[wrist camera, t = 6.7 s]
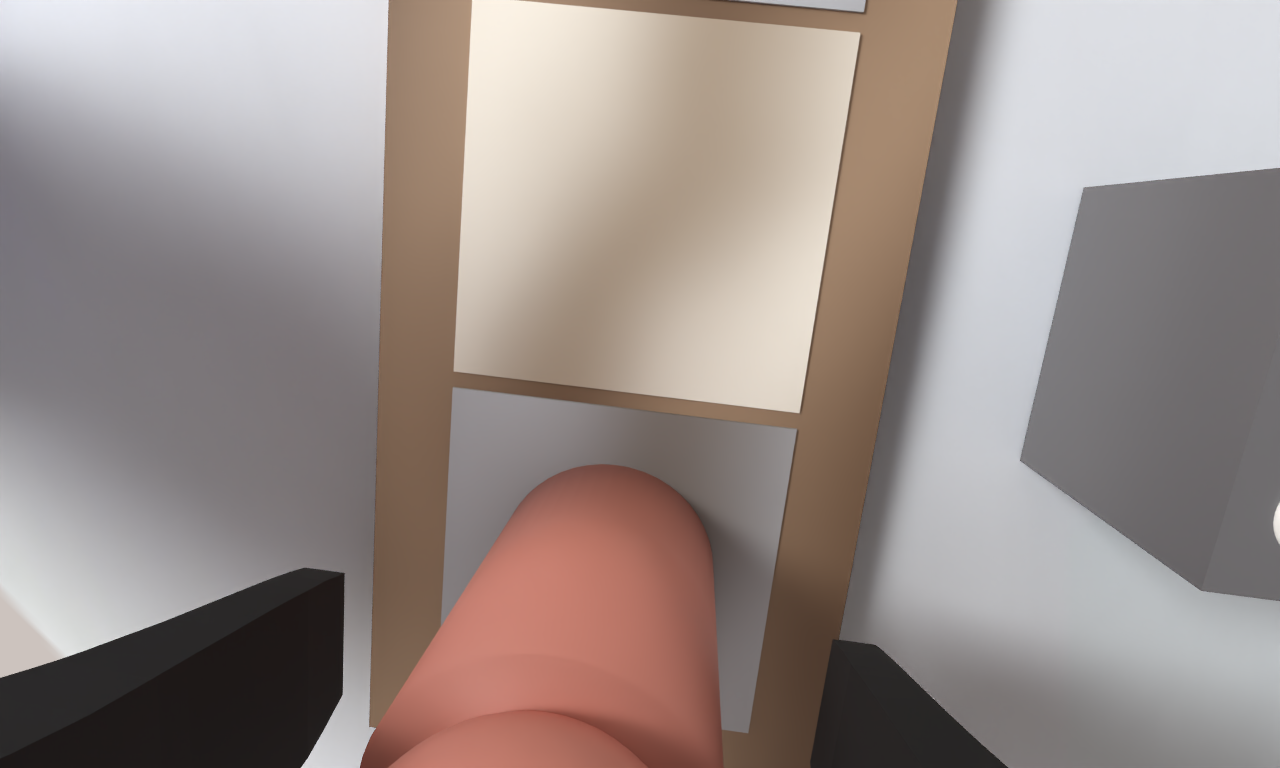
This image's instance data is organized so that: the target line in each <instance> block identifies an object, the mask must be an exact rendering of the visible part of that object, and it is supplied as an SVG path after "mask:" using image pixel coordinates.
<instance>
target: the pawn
mask: <svg viewBox="0 0 1280 768" xmlns="http://www.w3.org/2000/svg"><path fill="white" fill-rule="evenodd" d="M360 768H724V765H723V746H722V727H721V707H720V688H719V668H718V649H717V630H716V610H715V591H714V572H713V557H712V550H711V546H710V542H709V538H708V536H707V533H706V530H705V528H704V526H703V524H702V522H701V520H700V519H699V517H698V515H697V514H696V512H695V511H694V510H693V508H692V507H691V505H690V504H689V503H688V502H687V501H686V500H685V499H684V498H683V497H682V496H681V495H680V494H679V493H678V492H677V491H675V490H674V489H673V488H672V487H670V486H669V485H668V484H666V483H664V482H663V481H661V480H660V479H658V478H656V477H654V476H652V475H650V474H647V473H645V472H643V471H640V470H636V469H633V468H630V467H624V466H619V465H608V464H597V465H586V466H581V467H576V468H572V469H569V470H566V471H563V472H560V473H558V474H556V475H554V476H552V477H550V478H548V479H547V480H545V481H544V482H542V483H541V484H539V485H538V486H536V487H535V488H534V489H533V490H532V491H531V492H530V493H529V494H528V495H527V496H526V497H525V498H524V499H523V500H522V502H521V503H520V504H519V505H518V507H517V508H516V510H515V512H514V513H513V515H512V516H511V518H510V519H509V521H508V522H507V524H506V526H505V527H504V529H503V530H502V532H501V533H500V535H499V537H498V538H497V540H496V541H495V543H494V544H493V546H492V547H491V549H490V551H489V552H488V554H487V555H486V557H485V558H484V560H483V562H482V563H481V565H480V566H479V568H478V569H477V571H476V573H475V574H474V576H473V577H472V579H471V580H470V582H469V583H468V585H467V587H466V588H465V590H464V591H463V593H462V594H461V596H460V598H459V599H458V601H457V602H456V604H455V605H454V607H453V608H452V610H451V612H450V613H449V615H448V616H447V618H446V619H445V621H444V623H443V624H442V626H441V627H440V629H439V630H438V632H437V634H436V635H435V637H434V638H433V640H432V641H431V643H430V644H429V646H428V648H427V649H426V651H425V652H424V654H423V655H422V657H421V659H420V660H419V662H418V663H417V665H416V666H415V668H414V669H413V671H412V673H411V674H410V676H409V677H408V679H407V680H406V682H405V684H404V685H403V687H402V688H401V690H400V691H399V693H398V694H397V696H396V698H395V699H394V701H393V702H392V704H391V705H390V707H389V709H388V710H387V712H386V713H385V715H384V716H383V718H382V720H381V721H380V723H379V724H378V726H377V728H376V729H375V731H374V732H373V734H372V736H371V738H370V740H369V742H368V745H367V747H366V749H365V752H364V754H363V757H362V761H361V765H360Z"/></svg>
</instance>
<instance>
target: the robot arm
mask: <svg viewBox="0 0 1280 768" xmlns="http://www.w3.org/2000/svg"><path fill="white" fill-rule="evenodd" d="M344 575H345V573H340V572H332V571H325V570H318V569H310V568H302V569H299V570H295V571H292V572H289V573H286V574H283V575H280V576H277V577H275V578H272V579H269V580H267V581H264V582H261V583H259V584H256V585H254V586H251V587H249V588H246V589H244V590H241V591H239V592H236V593H234V594H231V595H229V596H226V597H224V598H222V599H219V600H217V601H214V602H212V603H209V604H207V605H204V606H202V607H199V608H197V609H194V610H192V611H189V612H187V613H184V614H182V615H179V616H177V617H174V618H172V619H169V620H167V621H164V622H162V623H159V624H156V625H154V626H151V627H148V628H145V629H143V630H140V631H137V632H135V633H132V634H129V635H126V636H124V637H121V638H118V639H116V640H113V641H110V642H107V643H105V644H102V645H99V646H97V647H94V648H91V649H89V650H86V651H83V652H80V653H77V654H74V655H72V656H69V657H66V658H63V659H60V660H57V661H54V662H51V663H47V664H44V665H41V666H38V667H35V668H32V669H29V670H25V671H22V672H19V673H15V674H12V675H9V676H5V677H2V678H0V768H301V767H302V765H303V764H304V762H305V761H306V760H307V758H308V756H309V755H310V753H311V751H312V749H313V748H314V746H315V744H316V742H317V741H318V739H319V737H320V735H321V734H322V732H323V730H324V728H325V727H326V725H327V723H328V721H329V719H330V717H331V715H332V713H333V711H334V710H335V708H336V706H337V704H338V702H339V700H340V698H341V696H342V693H343V634H344ZM810 766H811V768H1008V767H1007V766H1006V765H1004V764H1003V763H1002V762H1001V761H1000V760H999V759H998V758H996V757H995V756H994V755H993V754H992V753H991V752H990V751H989V750H987V749H986V748H985V747H984V746H983V745H982V744H981V743H980V742H978V741H977V740H976V739H975V738H974V737H973V736H972V735H971V734H970V733H969V732H968V731H966V730H965V729H964V728H963V727H962V726H961V725H960V724H959V723H958V722H957V721H956V720H955V719H954V718H953V717H952V716H950V715H949V714H948V713H947V712H946V711H945V710H944V709H943V708H942V707H941V706H940V705H939V704H938V703H937V702H936V701H935V700H934V699H933V698H932V697H931V696H930V695H929V694H928V693H927V692H925V691H924V690H923V689H922V688H921V687H920V686H919V685H918V684H917V683H916V682H915V681H914V680H913V679H912V678H911V677H910V676H909V675H908V674H907V673H906V672H905V671H904V670H903V669H902V668H901V667H900V666H899V665H898V664H896V663H895V662H894V661H893V660H892V659H891V658H890V657H889V656H888V655H887V654H886V653H885V652H883V651H882V650H881V649H880V648H879V647H877V646H876V645H872V644H865V643H857V642H850V641H842V640H835V639H833V640H832V645H831V651H830V656H829V662H828V667H827V672H826V678H825V683H824V689H823V694H822V700H821V705H820V710H819V716H818V721H817V727H816V732H815V738H814V743H813V748H812V754H811V759H810Z"/></svg>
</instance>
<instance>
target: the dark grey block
mask: <svg viewBox="0 0 1280 768" xmlns="http://www.w3.org/2000/svg"><path fill="white" fill-rule="evenodd" d="M1020 461H1021V462H1023V463H1024V464H1026V465H1027V466H1028V467H1030V468H1031V469H1033V470H1034V471H1035V472H1037V473H1038V474H1040V475H1041V476H1042V477H1044V478H1045V479H1047V480H1048V481H1049V482H1051V483H1052V484H1053V485H1055V486H1056V487H1058V488H1059V489H1060V490H1062V491H1063V492H1065V493H1066V494H1067V495H1069V496H1070V497H1072V498H1073V499H1074V500H1076V501H1077V502H1078V503H1080V504H1081V505H1083V506H1084V507H1085V508H1087V509H1088V510H1090V511H1091V512H1092V513H1094V514H1095V515H1097V516H1098V517H1099V518H1101V519H1102V520H1103V521H1105V522H1106V523H1108V524H1109V525H1110V526H1112V527H1113V528H1115V529H1116V530H1117V531H1119V532H1120V533H1122V534H1123V535H1124V536H1126V537H1127V538H1129V539H1130V540H1131V541H1133V542H1134V543H1135V544H1137V545H1138V546H1140V547H1141V548H1142V549H1144V550H1145V551H1147V552H1148V553H1149V554H1151V555H1152V556H1154V557H1155V558H1156V559H1158V560H1159V561H1160V562H1162V563H1163V564H1165V565H1166V566H1167V567H1169V568H1170V569H1172V570H1173V571H1174V572H1176V573H1177V574H1179V575H1180V576H1181V577H1183V578H1184V579H1185V580H1187V581H1188V582H1190V583H1191V584H1192V585H1194V586H1195V587H1197V588H1198V589H1199V590H1201V591H1207V592H1215V593H1222V594H1230V595H1238V596H1245V597H1253V598H1261V599H1269V600H1276V601H1280V168H1275V169H1265V170H1255V171H1245V172H1235V173H1225V174H1215V175H1205V176H1195V177H1185V178H1175V179H1165V180H1155V181H1145V182H1135V183H1125V184H1115V185H1105V186H1095V187H1085V188H1084V189H1083V193H1082V198H1081V202H1080V206H1079V210H1078V215H1077V219H1076V223H1075V228H1074V232H1073V236H1072V240H1071V245H1070V249H1069V253H1068V257H1067V262H1066V266H1065V270H1064V275H1063V279H1062V283H1061V287H1060V292H1059V296H1058V300H1057V305H1056V309H1055V313H1054V317H1053V322H1052V326H1051V330H1050V335H1049V339H1048V343H1047V347H1046V352H1045V356H1044V360H1043V364H1042V369H1041V373H1040V377H1039V382H1038V386H1037V390H1036V394H1035V399H1034V403H1033V407H1032V412H1031V416H1030V420H1029V424H1028V429H1027V433H1026V437H1025V441H1024V446H1023V450H1022V454H1021V459H1020Z"/></svg>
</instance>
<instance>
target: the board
mask: <svg viewBox="0 0 1280 768" xmlns="http://www.w3.org/2000/svg"><path fill="white" fill-rule="evenodd" d="M957 1H958V0H389V10H388V47H387V85H386V122H385V159H384V197H383V234H382V271H381V309H380V346H379V383H378V421H377V458H376V495H375V533H374V570H373V607H372V645H371V682H370V719H369V727H375V728H377V726H378V724H379V723H380V721H381V720H382V718H383V716H384V715H385V713H386V712H387V710H388V709H389V707H390V705H391V704H392V702H393V701H394V699H395V698H396V696H397V694H398V693H399V691H400V690H401V688H402V687H403V685H404V684H405V682H406V680H407V679H408V677H409V676H410V674H411V673H412V671H413V669H414V668H415V666H416V665H417V663H418V662H419V660H420V659H421V657H422V655H423V654H424V652H425V651H426V649H427V648H428V646H429V644H430V643H431V641H432V640H433V638H434V637H435V635H436V634H437V632H438V630H439V629H440V627H441V626H442V624H443V623H444V621H445V619H446V618H447V616H448V615H449V613H450V612H451V610H452V608H453V607H454V605H455V604H456V602H457V601H458V599H459V598H460V596H461V594H462V593H463V591H464V590H465V588H466V587H467V585H468V583H469V582H470V580H471V579H472V577H473V576H474V574H475V573H476V571H477V569H478V568H479V566H480V565H481V563H482V562H483V560H484V558H485V557H486V555H487V554H488V552H489V551H490V549H491V547H492V546H493V544H494V543H495V541H496V540H497V538H498V537H499V535H500V533H501V532H502V530H503V529H504V527H505V526H506V524H507V522H508V521H509V519H510V518H511V516H512V515H513V513H514V512H515V510H516V508H517V507H518V505H519V504H520V503H521V502H522V500H523V499H524V498H525V497H526V496H527V495H528V494H529V493H530V492H531V491H532V490H533V489H534V488H535V487H536V486H538V485H539V484H541V483H542V482H544V481H545V480H547V479H548V478H550V477H552V476H554V475H556V474H558V473H560V472H563V471H566V470H569V469H572V468H576V467H581V466H586V465H597V464H608V465H619V466H624V467H630V468H633V469H636V470H640V471H643V472H645V473H647V474H650V475H652V476H654V477H656V478H658V479H660V480H661V481H663V482H664V483H666V484H668V485H669V486H670V487H672V488H673V489H674V490H675V491H677V492H678V493H679V494H680V495H681V496H682V497H683V498H684V499H685V500H686V501H687V502H688V503H689V504H690V505H691V507H692V508H693V510H694V511H695V512H696V514H697V515H698V517H699V519H700V520H701V522H702V524H703V526H704V528H705V530H706V533H707V536H708V538H709V542H710V546H711V550H712V557H713V572H714V591H715V610H716V630H717V649H718V668H719V688H720V707H721V727H722V746H723V765H724V768H811V766H810V759H811V754H812V748H813V743H814V738H815V732H816V727H817V721H818V716H819V710H820V705H821V700H822V694H823V689H824V683H825V678H826V672H827V667H828V662H829V656H830V651H831V645H832V640H833V639H835V640H839V635H840V630H841V624H842V619H843V613H844V608H845V603H846V597H847V592H848V587H849V581H850V576H851V570H852V565H853V560H854V554H855V549H856V544H857V538H858V533H859V527H860V522H861V517H862V511H863V506H864V501H865V495H866V490H867V484H868V479H869V474H870V468H871V463H872V458H873V452H874V447H875V441H876V436H877V431H878V425H879V420H880V415H881V409H882V404H883V398H884V393H885V388H886V382H887V377H888V372H889V366H890V361H891V355H892V350H893V345H894V339H895V334H896V329H897V323H898V318H899V312H900V307H901V302H902V296H903V291H904V286H905V280H906V275H907V269H908V264H909V259H910V253H911V248H912V243H913V237H914V232H915V226H916V221H917V216H918V210H919V205H920V200H921V194H922V189H923V183H924V178H925V173H926V167H927V162H928V157H929V151H930V146H931V140H932V135H933V130H934V124H935V119H936V114H937V108H938V103H939V97H940V92H941V87H942V81H943V76H944V71H945V65H946V60H947V54H948V49H949V44H950V38H951V33H952V28H953V22H954V17H955V12H956V6H957Z"/></svg>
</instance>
